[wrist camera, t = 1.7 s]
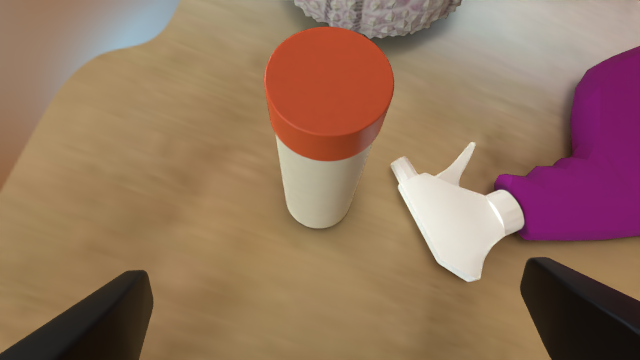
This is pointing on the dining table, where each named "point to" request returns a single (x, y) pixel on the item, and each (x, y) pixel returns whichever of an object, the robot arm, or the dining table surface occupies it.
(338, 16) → the sea urchin shell
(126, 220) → the dining table surface
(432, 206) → the spray bottle
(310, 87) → the white and orange cylinder
